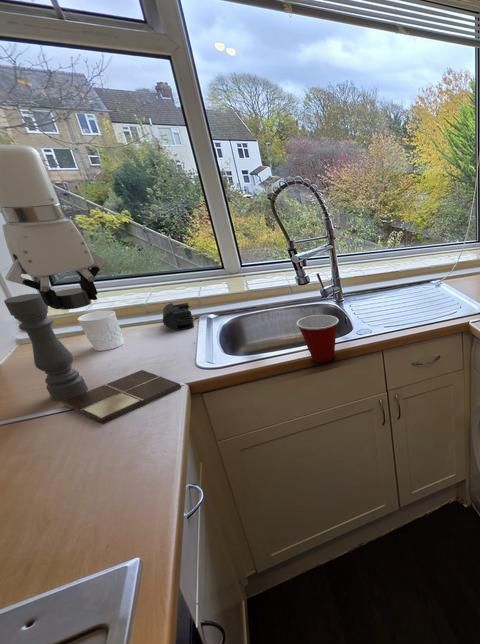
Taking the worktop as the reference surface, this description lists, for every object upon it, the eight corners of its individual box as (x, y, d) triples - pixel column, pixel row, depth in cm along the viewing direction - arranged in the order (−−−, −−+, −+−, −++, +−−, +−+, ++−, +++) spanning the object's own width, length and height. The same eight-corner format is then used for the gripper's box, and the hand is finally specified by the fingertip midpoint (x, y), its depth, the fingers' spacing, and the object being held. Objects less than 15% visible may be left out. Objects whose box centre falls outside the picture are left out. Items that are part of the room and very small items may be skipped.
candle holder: (92, 391, 100) (48, 296, 90) (57, 403, 95) (6, 305, 85) (82, 383, 103) (39, 291, 93) (48, 395, 98) (-2, 299, 88)
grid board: (102, 424, 89) (100, 419, 88) (64, 405, 95) (61, 401, 94) (181, 387, 102) (179, 383, 102) (143, 373, 108) (141, 369, 108)
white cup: (127, 337, 127) (115, 308, 123) (126, 347, 121) (114, 316, 117) (92, 344, 122) (79, 314, 118) (89, 354, 117) (75, 322, 113)
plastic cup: (350, 358, 118) (344, 320, 113) (311, 370, 111) (304, 331, 107) (335, 345, 125) (329, 309, 121) (298, 356, 118) (290, 319, 114)
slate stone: (66, 311, 82) (59, 297, 81) (53, 307, 83) (46, 293, 82) (97, 303, 86) (91, 289, 85) (84, 299, 88) (78, 286, 87)
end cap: (167, 323, 138) (160, 304, 135) (192, 318, 142) (187, 300, 139) (166, 333, 130) (160, 314, 128) (194, 328, 134) (188, 309, 132)
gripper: (82, 207, 86) (114, 288, 93) (-43, 219, 71) (6, 314, 79) (102, 210, 83) (133, 293, 90) (-23, 223, 69) (26, 321, 76)
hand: (74, 302), depth 84 cm, fingers closed on slate stone, 5 cm apart
